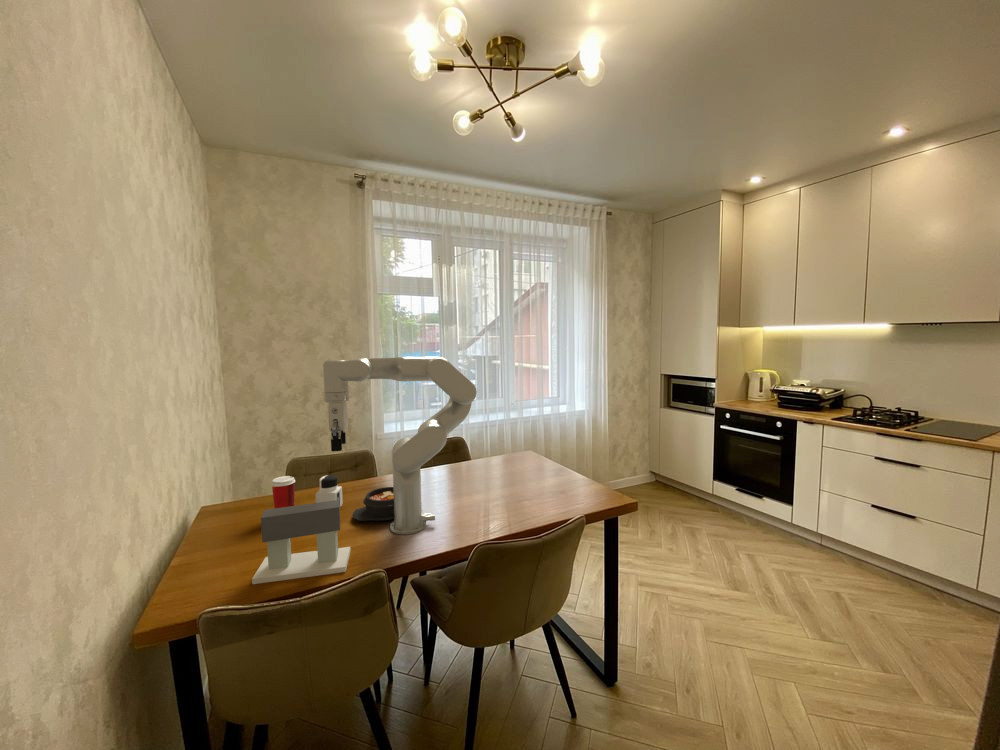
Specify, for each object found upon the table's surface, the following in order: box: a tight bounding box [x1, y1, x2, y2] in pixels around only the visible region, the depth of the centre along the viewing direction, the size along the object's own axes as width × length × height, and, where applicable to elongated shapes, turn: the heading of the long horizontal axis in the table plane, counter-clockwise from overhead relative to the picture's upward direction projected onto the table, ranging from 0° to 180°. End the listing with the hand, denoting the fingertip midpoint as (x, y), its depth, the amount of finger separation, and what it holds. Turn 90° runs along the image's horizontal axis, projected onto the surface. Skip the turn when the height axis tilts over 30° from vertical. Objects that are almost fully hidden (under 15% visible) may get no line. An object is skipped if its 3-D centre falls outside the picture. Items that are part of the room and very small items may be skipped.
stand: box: [251, 531, 352, 585], centre depth 120 cm, size 24×12×10 cm, turn 104°
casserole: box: [352, 486, 394, 522], centre depth 156 cm, size 25×19×8 cm
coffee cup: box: [270, 475, 296, 509], centre depth 154 cm, size 8×8×15 cm
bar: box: [260, 500, 341, 543], centre depth 119 cm, size 20×6×7 cm, turn 111°
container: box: [314, 474, 344, 508], centre depth 163 cm, size 8×8×13 cm
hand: (338, 447), depth 138 cm, fingers open, 9 cm apart
